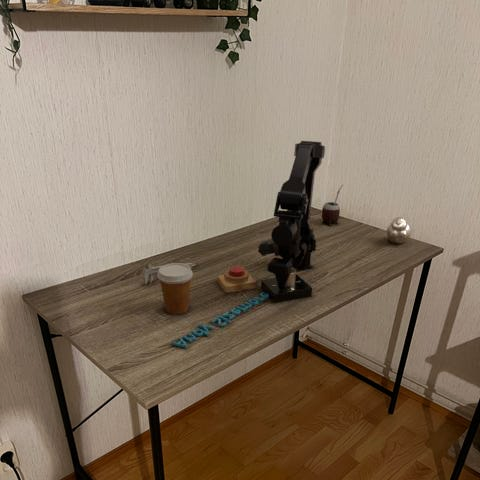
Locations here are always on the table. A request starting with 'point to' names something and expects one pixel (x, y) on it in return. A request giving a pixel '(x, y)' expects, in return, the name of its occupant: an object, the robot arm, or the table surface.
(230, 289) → the button block
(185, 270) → the disposable coffee cup
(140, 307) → the table surface
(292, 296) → the dial console
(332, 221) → the mate gourd
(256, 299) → the nameplate
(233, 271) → the button
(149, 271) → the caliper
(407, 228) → the silver spiral shell
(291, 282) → the knob
